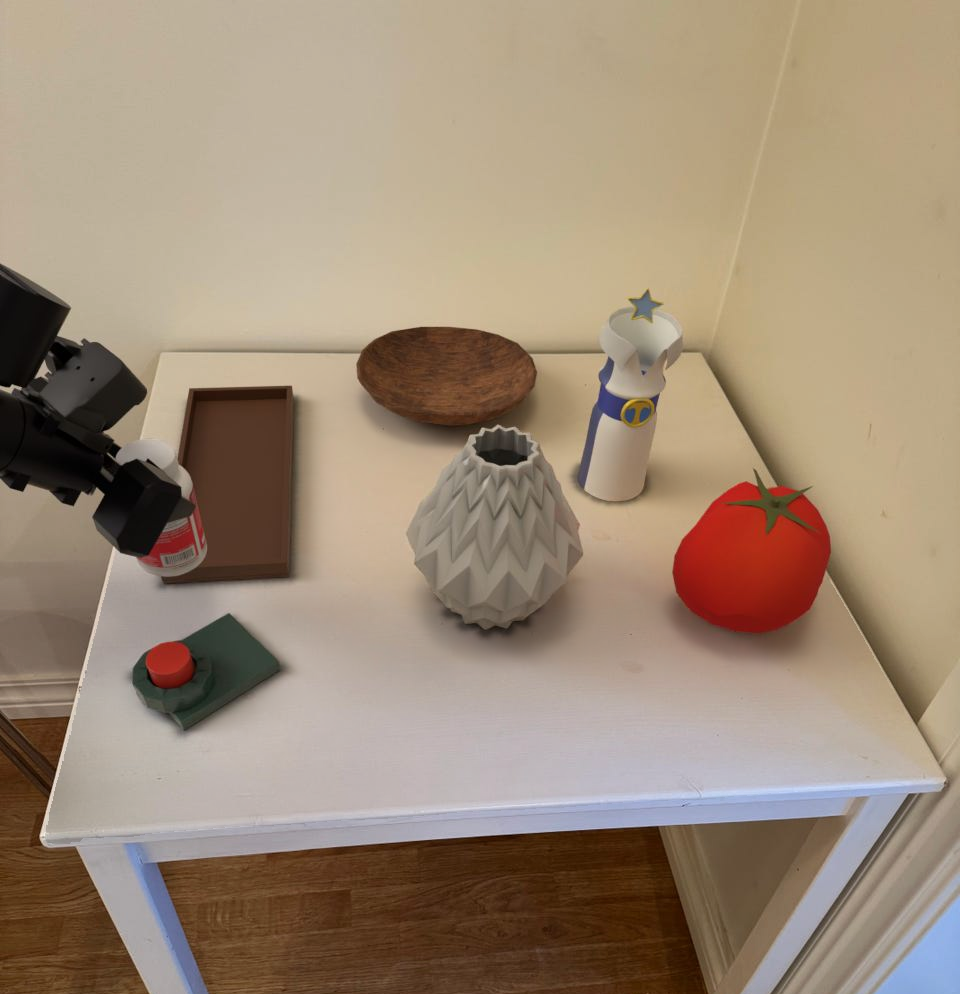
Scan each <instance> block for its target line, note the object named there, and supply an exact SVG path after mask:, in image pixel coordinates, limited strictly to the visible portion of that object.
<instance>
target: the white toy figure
mask: <svg viewBox="0 0 960 994" xmlns="http://www.w3.org/2000/svg"><path fill="white" fill-rule="evenodd" d="M627 300H628V301H629V303H630V304H631V305H632V306H626V307H622V308H619V309H617V310H615V311H614V312H612V313H611V314H610V315H609V317H608V319H607V321H606V322H605V323H604V324H603V326H602V328H601V329H600V331H599V335H598V341H599V345H600V348H601V350H602V351H603V353H604V354H606V356H607V360H606V362H605V363H604V365H603V366H602V367H601V368H600V369H599V371H598V374H597V376H598V380H599V382H600V385H599V390H598V391H599V392H598V396H597V400H596V401H595V403H594V405H593V407H592V410H591V412H590V417H589V423H588V427H587V433H586V438H585V443H584V446H583V447H584V448H583V451H582V455H581V460H580V464H579V468H578V472H577V481H578V484H579V486H580V487H581V488H582V490H584V491H585V492H586V493H587V494H588V495H590V496H592V497H594V498H597V499H600V500H602V501H608V502H624V501H629V500H632V499H634V498H636V497H637V496H639V495H640V494H641V493H642V492H643V490H644V486H645V481H646V475H647V469H648V464H649V459H650V455H651V451H652V445H653V441H654V436H655V433H656V427H657V421H658V414H657V407H658V403H659V398H660V395H661V393H662V392H663V391H664V390H665V388H666V385H667V381H666V378H665V375H664V371H667V370H668V369H669V368H670V367H672V366H673V365H674V364H675V363H676V362H677V361H678V360H679V358H680V357H681V355H682V353H683V349H684V338H683V329H682V327H681V325H680V323H679V321H678V320H677V319H676V318H675V317H674V316H673V315H671V314H670V313H668V312H666V311H663V310H661V309H658V308H660V307H662V306H663V305H665V303H664V302H663V301H659V300H657V299H653V298H652V295H651V291H650V288H649V287H646V289H645V291H644V292H643V293H642V294H641V295H640V296H639V297H636V296H629V297H627ZM665 363H666V366H665ZM664 366H665V369H664Z"/></svg>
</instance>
